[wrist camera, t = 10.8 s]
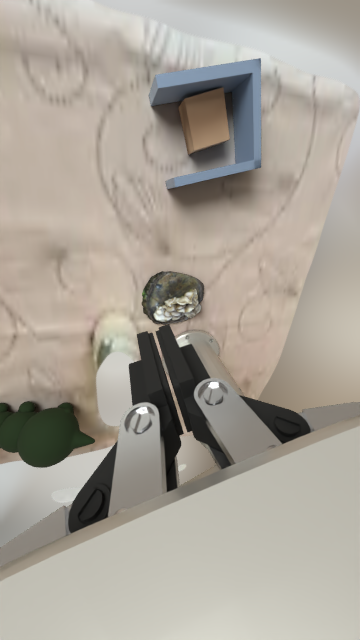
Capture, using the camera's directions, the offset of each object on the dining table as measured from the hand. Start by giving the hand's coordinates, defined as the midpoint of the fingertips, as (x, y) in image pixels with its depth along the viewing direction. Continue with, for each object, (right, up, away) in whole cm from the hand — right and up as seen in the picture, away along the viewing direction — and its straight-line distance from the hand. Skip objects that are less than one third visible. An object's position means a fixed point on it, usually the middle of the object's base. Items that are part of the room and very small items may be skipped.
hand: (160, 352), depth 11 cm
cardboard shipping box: (+4, +28, +18) cm, 34 cm away
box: (+4, +27, +19) cm, 33 cm away
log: (-1, +6, +29) cm, 30 cm away
